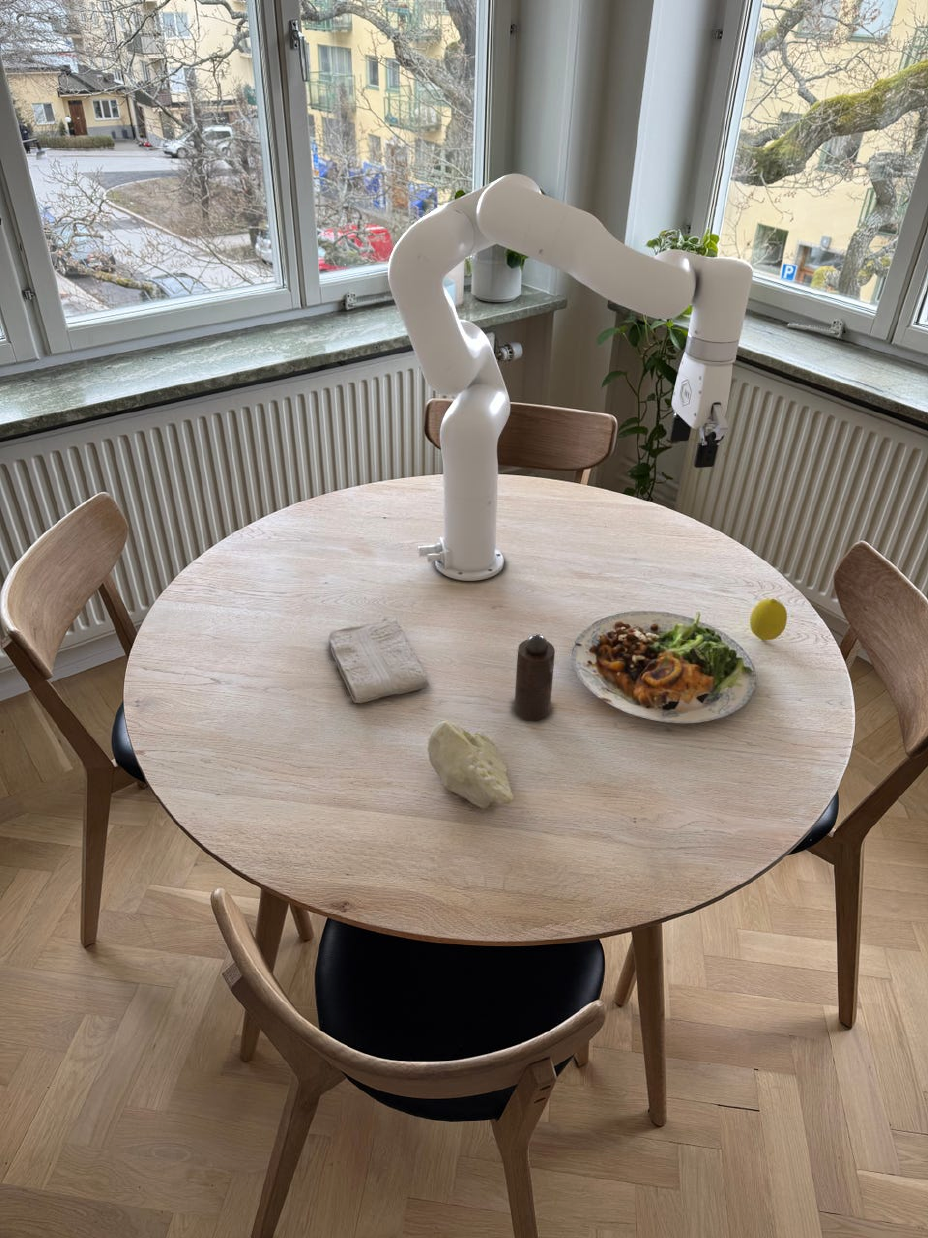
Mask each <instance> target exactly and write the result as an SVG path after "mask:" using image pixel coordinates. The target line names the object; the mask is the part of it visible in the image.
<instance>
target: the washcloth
mask: <svg viewBox="0 0 928 1238" xmlns="http://www.w3.org/2000/svg"><path fill="white" fill-rule="evenodd" d="M328 641H329V643H330V651H331V654H332V657H333V659H334V660H335V662H336V665H337V668H338V670H339V673H340V675H341V677H342V679H343V682H344V683H345V686H346V688H347V690H348V693H349V695H350V697H351V699H352V701H353V703H355V704H357V703H358V704H363V703H367V702H371V701H375V700H379V699H380V698H383V697H388V696H393V695H401V694H405V693H409V692H414V691H417V690H422V689H425V688H427V687H428V686H430V684H429V681H428V677H427V674H426V673H425V672H424V669H423V668H422V665H421V664H420V662H419V660H418V659H417V657H416V655H415V653H414V651H413V648H411V646H410V644H409V641H408V640H407V639H406V637H405V634H404V633H403V630H402V627H401V626H400V624H399V623H398V620H396V619H395V618H383V619H381V620H380V621H375V622H370V623H365V624H359V625H351V626H346V627H341V628H337V629H332V630H331V632H330V633H329V635H328Z"/></svg>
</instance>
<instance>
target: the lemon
mask: <svg viewBox="0 0 928 1238" xmlns="http://www.w3.org/2000/svg"><path fill="white" fill-rule="evenodd" d="M787 621H788V614H787V609H786V607H785V605H784V604H783V603H782V602H781V601H780V600H778V599H776V598H764V599H762V600H759V602H758V603H756V605H755V606H754V608H753V610H752V611H751V615H750V618H749V626H750V630H751V631H752V633H753V634H754V636H755V637H757V638H758V639H761V641H764V642H765V641H772V640H775V639H777V638H778V637H780V636H781V635H782V634H783V632H784V630H785V629H786V625H787Z"/></svg>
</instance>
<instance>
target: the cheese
mask: <svg viewBox="0 0 928 1238" xmlns="http://www.w3.org/2000/svg"><path fill="white" fill-rule="evenodd" d="M427 753H428V759H429V762H430V765H431V767H432V768H433V770H434V771H435V773H436V774H437V775H438V776H439V777H440V780H441V783H442V786H443V787H444V788H445V789H446V790H448V791H449V792H451V793H455V794H456V795H458V796H459V797H461V798H465V799H466V800H467V801H469V802H470V803H471V804H472V805H474V806H477V807H479V808H480V809H482V810H485V809H487V808H488V807H489V806H490V805H491V803H495V802H497V803H498V804H500V805H501V804H502V805H503V804H511V803H512V802H513V801H514V798H515V797H514V795H513V794H512V793H513V792H512V788H511V785H510V781H509V779H508V769H507V766H506V764H507V763H506V762H505V760H504V759H503V757H502V756H501V754H500V752H499V750H498V747H497V746H496V744H495V742H494V741H493V740H492V739H490V737H488V736H487V735H486V734H485V733H482V732H481V733H480V732H475V733H472V734H471V733H470V732H469V731H468V730H466V729H465V728H463V726H461V725H460V724H458V723H454V722H452V721H450V720H447V719H444V720H442V721H440V722H439V723H437V724H436V725H435V726H434V727H433V729H432V730H431V732H430V735H429V737H428V743H427Z"/></svg>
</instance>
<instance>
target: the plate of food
mask: <svg viewBox="0 0 928 1238" xmlns="http://www.w3.org/2000/svg"><path fill="white" fill-rule="evenodd" d="M700 618H701V613H700V612H699V611H697V612H696V615H695V618H693V617H690V616H685V615H681V614H676V613H671V612H665V611H656V610H655V611H654V610H636V611H634V610H633V611H626V612H621V613H615V614H613V615H609V616H606V617H603V618H601V619H599V620H596V621H595V622H593V623H591V625H589V626H588V627H587V628H585V629H584V630H583V631H582V632H581V633H579V635H578V636H577V638H576V640H575V642H574V645H573V646H572V649H571V661H572V665H573V668H574V671H575V674H576V676H577V677H578V679H579V680H580V681H581V682H582V684H583V685H584V686H585V687H586V688H587V689H588V690H589V691H590V692H591V693H593V694H594V695H595V696H596V697H597V698H599V699H601V701H604V702H605V703H606V704H608V705H610V706H612V707H614V708H616V709H617V710H620V711H622V712H625V713H627V714H630V715H633V716H636V717H640V718H643V719H647V720H652V721H655V722H656V721H657V722H661V723H662V722H663V723H670V724H671V723H672V724H696V723H697V724H698V723H704V722H709V721H714V720H719V719H722V718H724V717H728V716H730V715H732V714H734V713H735V712H736V711H738V710H740V709H741V708H743V707H744V706H745V705H747V704H748V702H749V701H750V700H751V698H752V696H753V695H754V693H755V691H756V687H757V684H758V682H757V681H758V679H757V672H756V668H755V665H754V663H753V661H752V659H751V658H750V656H749V655H748V654H747V652H746V651H745V650H744V648H743V647H742V646H741V645H740V644H739V643H738V642H737V641H736V640H734V639H732V638H731V637H730V636H729V635H727V634H726V633H724V632H723V631H722V630H720V629H718V628H716V627H715V626H712V625H710V624H708V623H705V622H702V621H700Z"/></svg>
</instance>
